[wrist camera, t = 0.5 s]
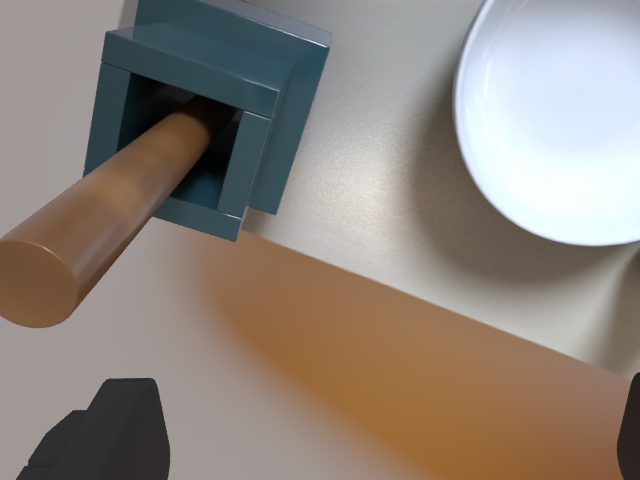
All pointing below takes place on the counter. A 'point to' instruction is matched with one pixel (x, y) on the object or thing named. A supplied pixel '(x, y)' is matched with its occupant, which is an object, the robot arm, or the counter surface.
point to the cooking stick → (100, 216)
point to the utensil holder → (218, 84)
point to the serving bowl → (554, 116)
